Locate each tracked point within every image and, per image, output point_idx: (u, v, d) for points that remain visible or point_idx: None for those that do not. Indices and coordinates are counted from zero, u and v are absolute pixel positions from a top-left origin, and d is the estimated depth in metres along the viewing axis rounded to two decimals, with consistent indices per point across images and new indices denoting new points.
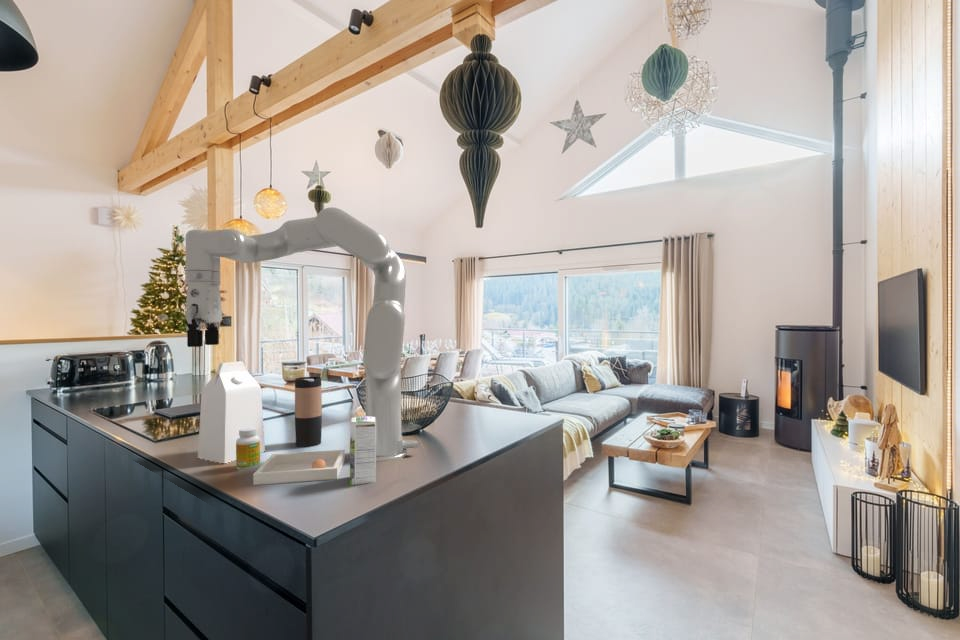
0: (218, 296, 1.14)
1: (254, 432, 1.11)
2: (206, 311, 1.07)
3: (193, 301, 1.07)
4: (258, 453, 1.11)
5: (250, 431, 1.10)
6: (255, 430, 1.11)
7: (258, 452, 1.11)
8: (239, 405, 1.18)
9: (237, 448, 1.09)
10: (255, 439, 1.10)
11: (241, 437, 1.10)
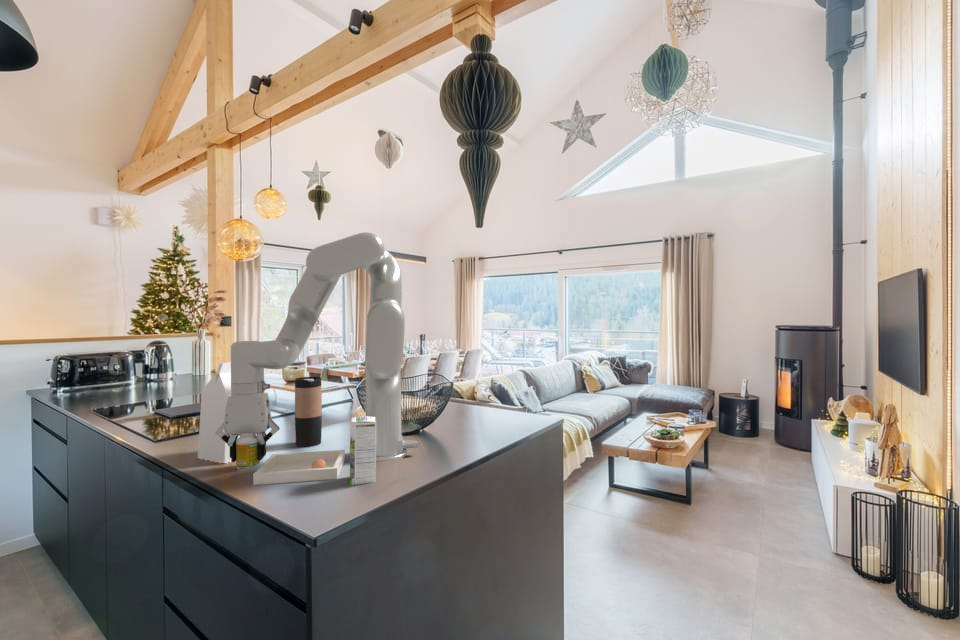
0: None
1: None
2: None
3: (268, 411, 1.12)
4: None
5: None
6: None
7: None
8: None
9: (237, 448, 1.09)
10: (255, 439, 1.10)
11: (241, 437, 1.10)
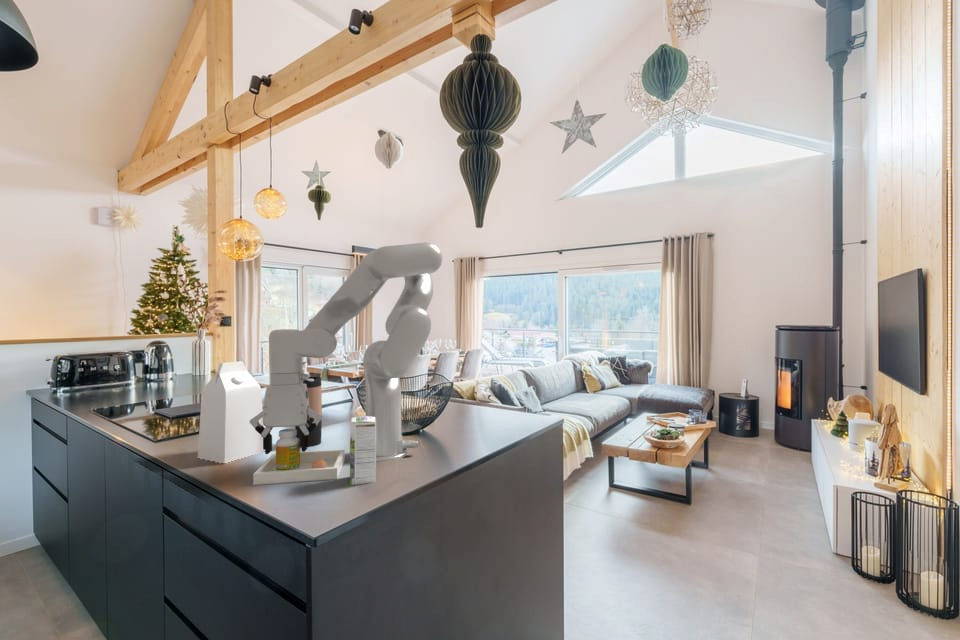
0: None
1: (295, 434, 1.06)
2: None
3: (307, 403, 1.07)
4: (298, 455, 1.07)
5: (290, 432, 1.05)
6: (295, 431, 1.07)
7: (298, 454, 1.07)
8: (239, 405, 1.18)
9: (277, 450, 1.04)
10: (295, 441, 1.06)
11: (281, 438, 1.05)
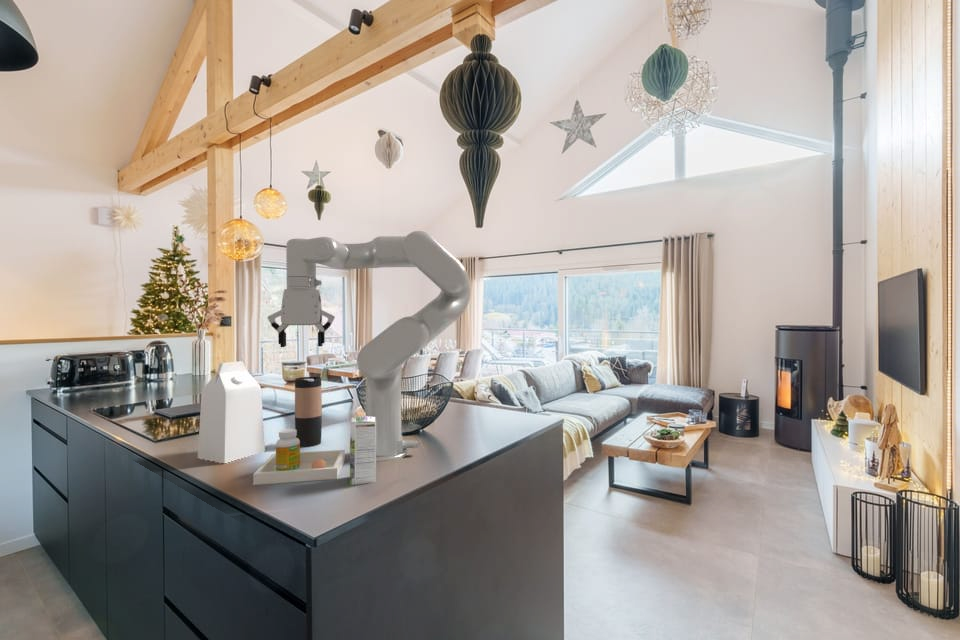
0: None
1: (294, 434, 1.06)
2: None
3: (320, 306, 1.20)
4: (298, 456, 1.07)
5: (290, 433, 1.05)
6: (295, 432, 1.07)
7: (298, 455, 1.07)
8: (239, 405, 1.18)
9: (277, 450, 1.04)
10: (295, 441, 1.06)
11: (281, 439, 1.05)
